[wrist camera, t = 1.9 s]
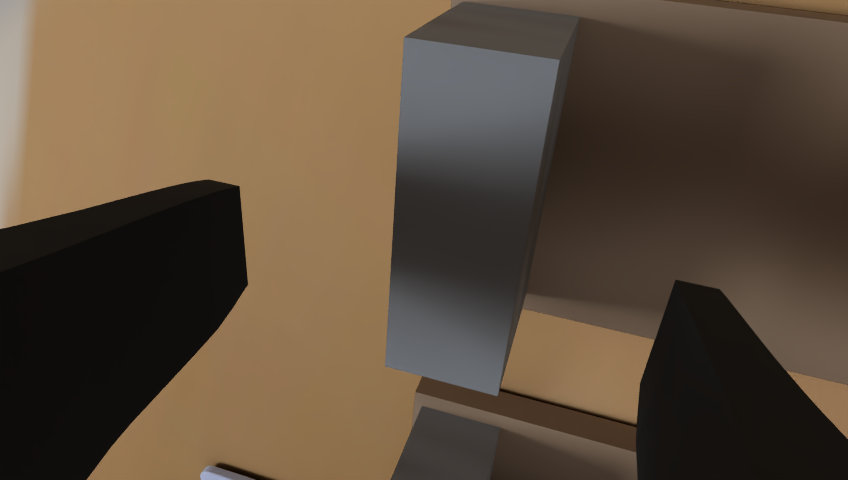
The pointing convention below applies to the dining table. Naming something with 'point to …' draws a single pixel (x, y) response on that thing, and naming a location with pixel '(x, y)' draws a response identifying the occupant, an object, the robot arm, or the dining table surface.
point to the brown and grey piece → (618, 176)
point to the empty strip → (510, 439)
